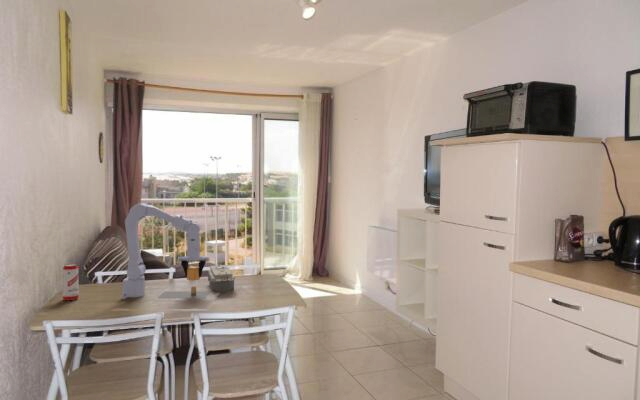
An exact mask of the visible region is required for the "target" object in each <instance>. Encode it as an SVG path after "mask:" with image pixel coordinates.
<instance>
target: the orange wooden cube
mask: <svg viewBox="0 0 640 400" xmlns="http://www.w3.org/2000/svg"><path fill="white" fill-rule="evenodd" d="M200 279H201V277H199V266H194V265H193V266H188V268H187V277H186V280H188V281H199V280H200Z"/></svg>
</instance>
